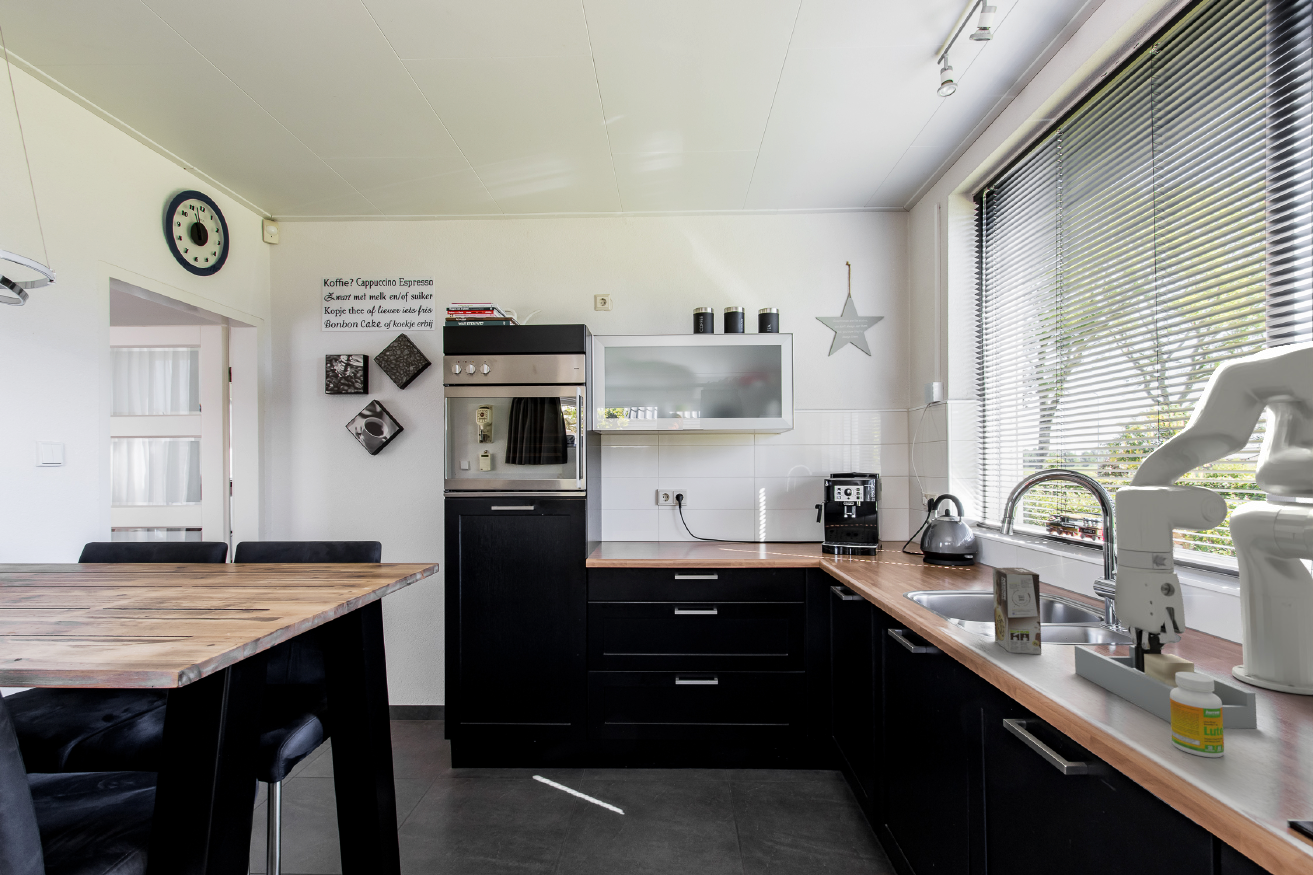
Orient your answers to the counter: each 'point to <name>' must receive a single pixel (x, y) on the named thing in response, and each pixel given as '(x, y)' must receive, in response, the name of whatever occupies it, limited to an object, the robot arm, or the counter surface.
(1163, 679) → the block
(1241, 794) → the counter surface
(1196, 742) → the supplement bottle
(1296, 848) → the counter surface
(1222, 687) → the box
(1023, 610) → the coffee box
